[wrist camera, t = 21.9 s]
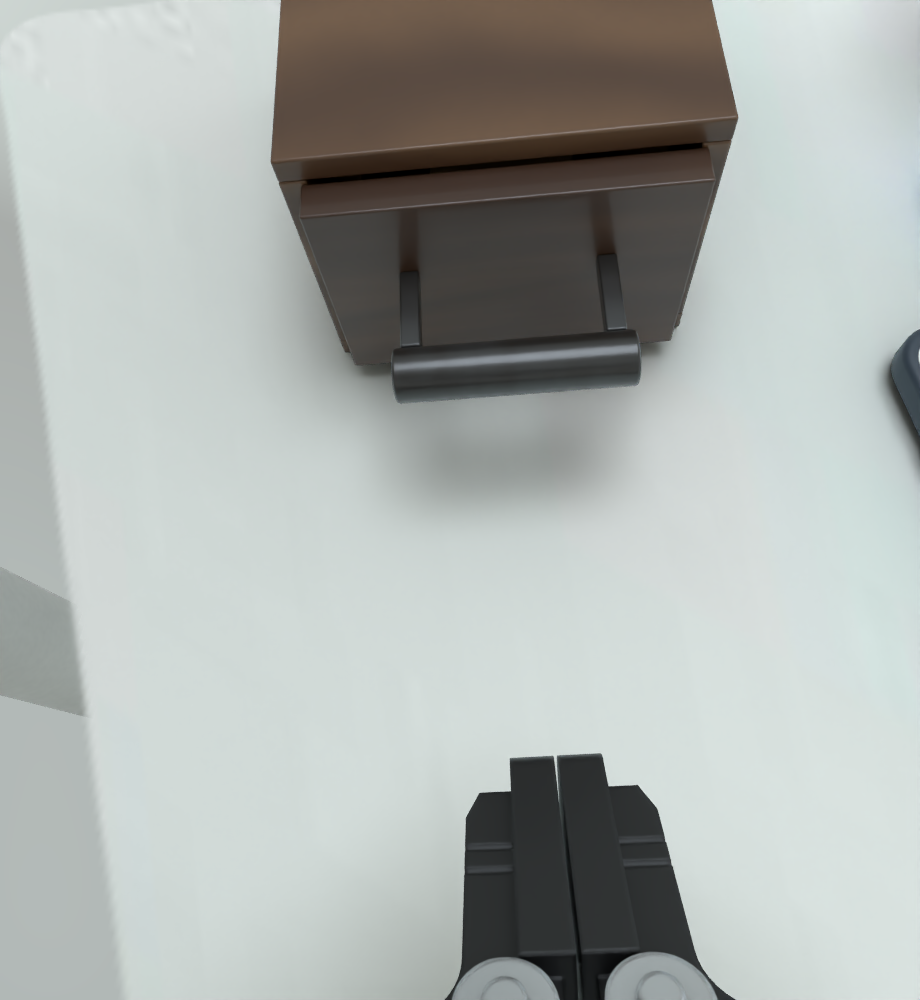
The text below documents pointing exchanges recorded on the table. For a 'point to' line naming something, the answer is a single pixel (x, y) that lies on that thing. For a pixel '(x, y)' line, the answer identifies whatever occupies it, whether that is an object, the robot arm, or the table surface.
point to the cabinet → (491, 87)
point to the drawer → (511, 269)
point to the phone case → (909, 376)
